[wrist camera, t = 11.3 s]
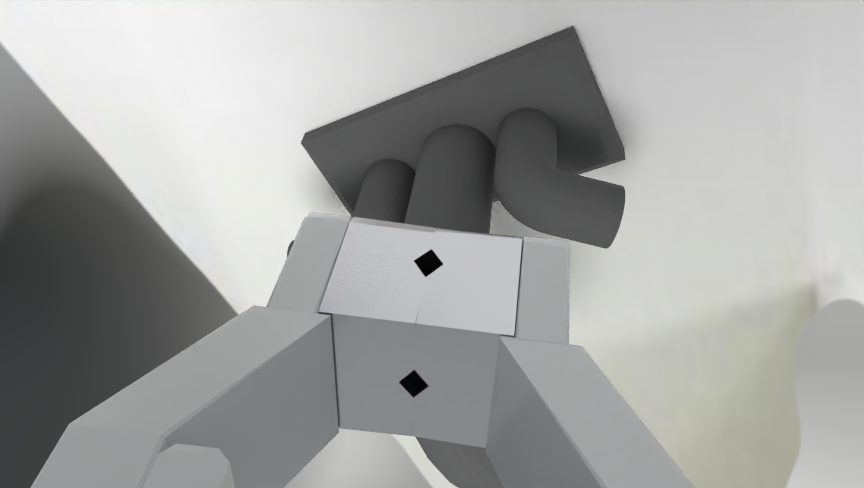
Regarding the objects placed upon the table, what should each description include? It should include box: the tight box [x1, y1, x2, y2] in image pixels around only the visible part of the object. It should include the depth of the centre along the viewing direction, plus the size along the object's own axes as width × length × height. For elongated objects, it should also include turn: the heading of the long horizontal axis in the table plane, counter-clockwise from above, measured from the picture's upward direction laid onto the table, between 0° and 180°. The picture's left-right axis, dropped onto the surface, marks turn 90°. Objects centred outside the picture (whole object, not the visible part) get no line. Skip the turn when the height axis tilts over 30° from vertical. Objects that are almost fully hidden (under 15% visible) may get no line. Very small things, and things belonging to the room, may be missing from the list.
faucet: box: [287, 26, 625, 488], centre depth 42 cm, size 18×16×20 cm
